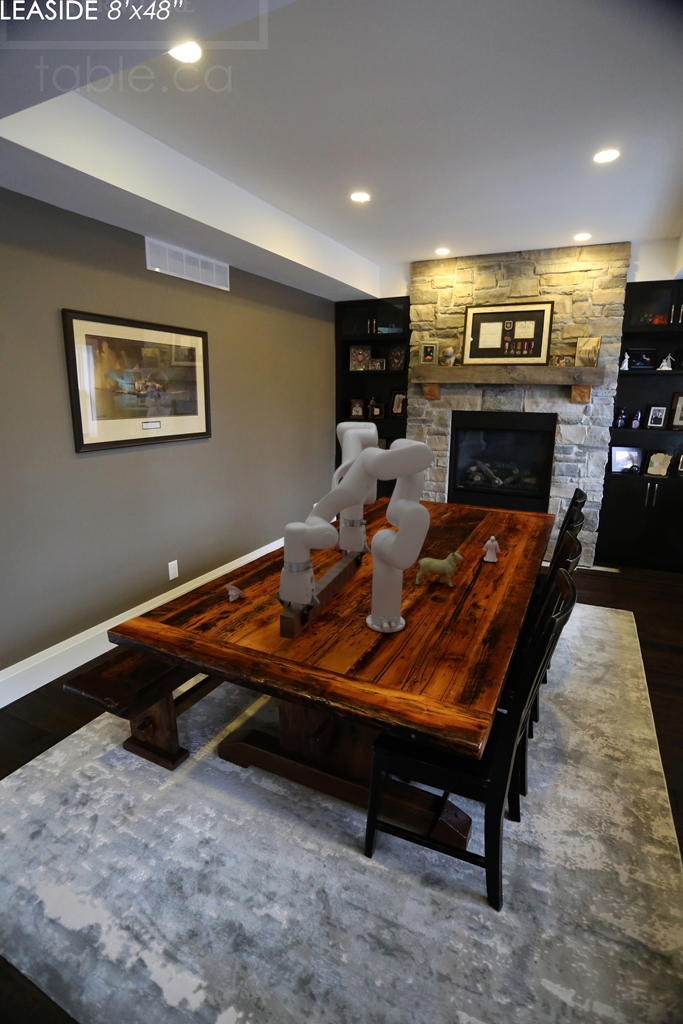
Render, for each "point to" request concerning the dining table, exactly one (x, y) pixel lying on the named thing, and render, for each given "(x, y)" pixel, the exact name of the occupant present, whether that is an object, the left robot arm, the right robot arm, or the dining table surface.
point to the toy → (439, 567)
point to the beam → (319, 595)
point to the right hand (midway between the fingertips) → (296, 621)
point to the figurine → (491, 550)
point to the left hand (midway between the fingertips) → (351, 566)
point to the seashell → (234, 592)
